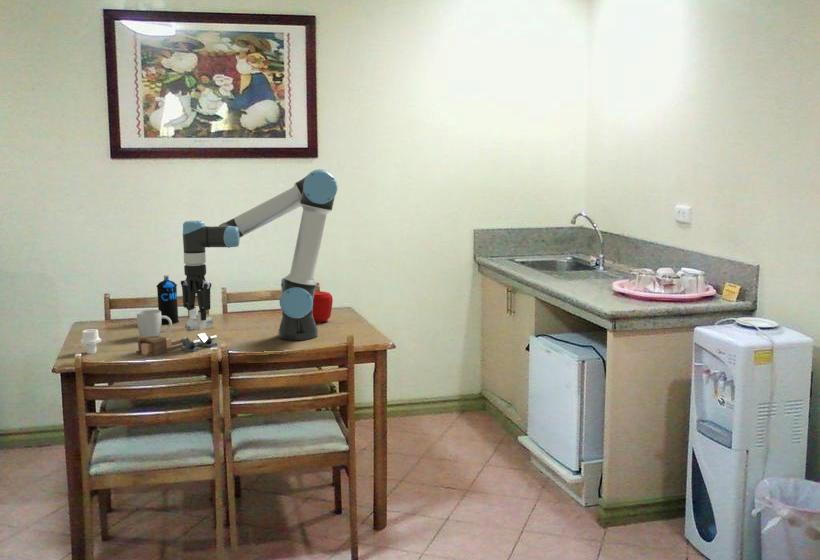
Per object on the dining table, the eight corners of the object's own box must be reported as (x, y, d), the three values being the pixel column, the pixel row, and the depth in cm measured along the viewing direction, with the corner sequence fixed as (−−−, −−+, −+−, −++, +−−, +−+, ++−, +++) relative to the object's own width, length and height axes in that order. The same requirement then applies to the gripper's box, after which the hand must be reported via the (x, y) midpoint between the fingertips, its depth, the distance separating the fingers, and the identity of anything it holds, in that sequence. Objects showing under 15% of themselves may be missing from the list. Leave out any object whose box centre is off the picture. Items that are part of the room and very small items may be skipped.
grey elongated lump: (204, 325, 288) (206, 314, 287) (212, 328, 286) (213, 318, 285) (183, 329, 280) (185, 318, 279) (191, 332, 278) (192, 322, 277)
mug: (138, 341, 294) (136, 315, 292) (138, 336, 302) (136, 310, 301) (173, 338, 298) (171, 312, 296) (172, 333, 306) (170, 308, 305)
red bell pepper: (337, 321, 327) (337, 289, 325) (317, 324, 320) (316, 292, 318) (323, 317, 335) (323, 286, 333) (303, 320, 328) (302, 289, 326)
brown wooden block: (171, 349, 282) (171, 338, 281) (148, 355, 273) (147, 344, 272) (165, 348, 283) (164, 337, 283) (141, 354, 275) (141, 343, 274)
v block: (217, 345, 286) (217, 335, 285) (194, 352, 277) (193, 341, 276) (203, 343, 290) (203, 332, 289) (180, 349, 280) (179, 338, 280)
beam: (197, 344, 288) (196, 330, 287) (150, 356, 271) (150, 341, 270) (180, 341, 293) (179, 327, 292) (133, 353, 275) (133, 338, 274)
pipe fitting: (99, 354, 274) (97, 332, 273) (78, 355, 273) (76, 332, 272) (104, 350, 280) (103, 328, 279) (84, 350, 280) (82, 328, 278)
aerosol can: (155, 322, 327) (152, 275, 324) (174, 319, 332) (171, 273, 329) (163, 325, 321) (160, 277, 318) (182, 322, 326) (179, 275, 323)
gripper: (219, 264, 277) (222, 329, 281) (186, 261, 286) (189, 323, 290) (203, 267, 271) (206, 333, 274) (170, 263, 280) (173, 327, 283)
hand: (197, 328), depth 282 cm, fingers closed on grey elongated lump, 4 cm apart
